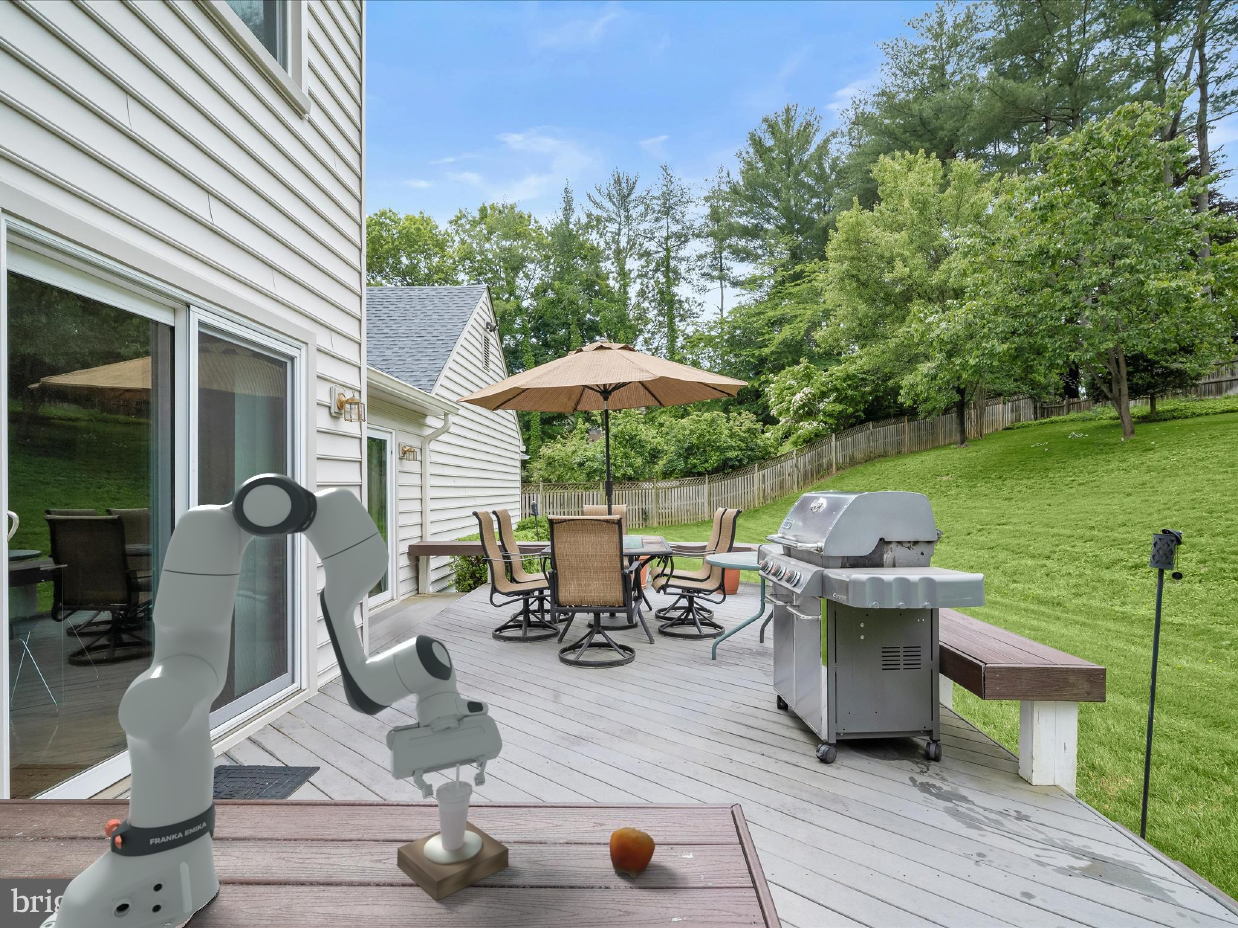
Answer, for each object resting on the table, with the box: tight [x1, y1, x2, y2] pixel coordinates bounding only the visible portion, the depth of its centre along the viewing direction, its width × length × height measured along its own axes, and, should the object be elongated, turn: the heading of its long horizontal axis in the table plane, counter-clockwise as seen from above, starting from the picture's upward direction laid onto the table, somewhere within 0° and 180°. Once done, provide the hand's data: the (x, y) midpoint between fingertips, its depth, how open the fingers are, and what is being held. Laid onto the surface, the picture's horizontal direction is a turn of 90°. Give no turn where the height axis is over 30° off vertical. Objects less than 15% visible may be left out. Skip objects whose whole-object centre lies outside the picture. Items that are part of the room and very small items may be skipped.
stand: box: [396, 820, 510, 902], centre depth 109 cm, size 14×14×4 cm
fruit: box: [609, 826, 656, 882], centre depth 108 cm, size 8×8×8 cm
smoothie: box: [435, 763, 473, 850], centre depth 110 cm, size 6×6×14 cm
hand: (455, 790), depth 110 cm, fingers open, 8 cm apart
